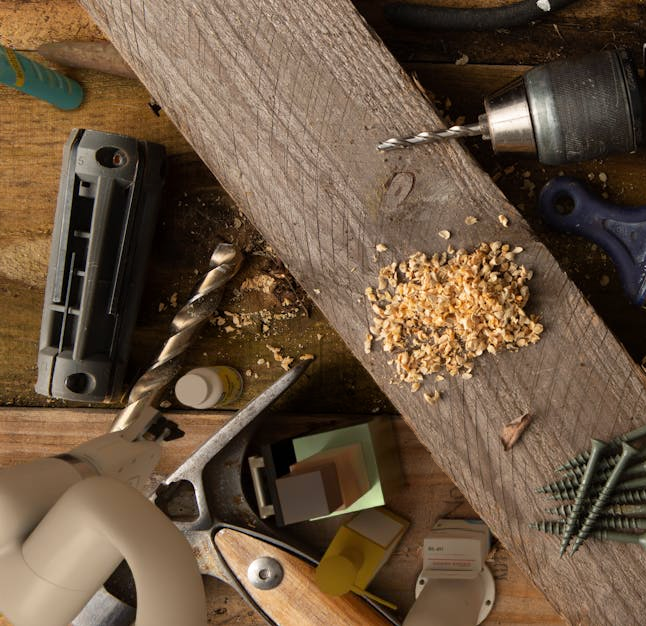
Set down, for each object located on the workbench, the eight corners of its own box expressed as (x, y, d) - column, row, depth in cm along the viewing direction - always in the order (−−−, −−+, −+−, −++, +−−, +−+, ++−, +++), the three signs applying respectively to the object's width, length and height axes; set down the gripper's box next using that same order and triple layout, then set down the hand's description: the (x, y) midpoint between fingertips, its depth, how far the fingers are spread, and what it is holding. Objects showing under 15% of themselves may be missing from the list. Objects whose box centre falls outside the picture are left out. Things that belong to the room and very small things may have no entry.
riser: (371, 489, 114) (346, 509, 102) (330, 499, 114) (300, 519, 102) (360, 442, 114) (335, 456, 102) (319, 451, 114) (289, 466, 102)
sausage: (133, 51, 119) (154, 34, 124) (16, 34, 119) (41, 18, 124) (145, 89, 124) (165, 71, 128) (32, 73, 124) (56, 56, 128)
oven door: (306, 507, 127) (255, 531, 115) (290, 434, 127) (238, 450, 115) (334, 501, 126) (286, 525, 114) (319, 428, 126) (269, 444, 114)
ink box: (491, 519, 127) (479, 545, 112) (490, 550, 127) (478, 579, 112) (437, 518, 127) (419, 544, 112) (437, 549, 127) (418, 578, 112)
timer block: (343, 504, 102) (330, 515, 96) (300, 514, 102) (284, 525, 96) (334, 461, 102) (320, 470, 96) (291, 471, 102) (274, 479, 96)
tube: (94, 106, 126) (7, 67, 107) (67, 122, 126) (-25, 86, 107) (69, 66, 126) (-22, 20, 107) (43, 82, 126) (-54, 39, 107)
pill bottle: (240, 407, 126) (207, 415, 115) (201, 399, 126) (165, 407, 115) (248, 369, 126) (216, 373, 115) (209, 361, 126) (174, 365, 115)
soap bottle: (417, 579, 127) (380, 637, 103) (348, 539, 127) (295, 589, 103) (439, 539, 127) (407, 588, 103) (370, 500, 127) (323, 540, 103)
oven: (337, 501, 127) (309, 521, 114) (321, 427, 127) (292, 439, 114) (405, 486, 127) (385, 504, 114) (389, 412, 127) (367, 423, 114)
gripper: (48, 585, 80) (143, 539, 97) (138, 436, 80) (216, 417, 97) (-17, 547, 79) (90, 508, 97) (73, 398, 80) (163, 386, 97)
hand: (153, 462), depth 97 cm, fingers open, 9 cm apart
